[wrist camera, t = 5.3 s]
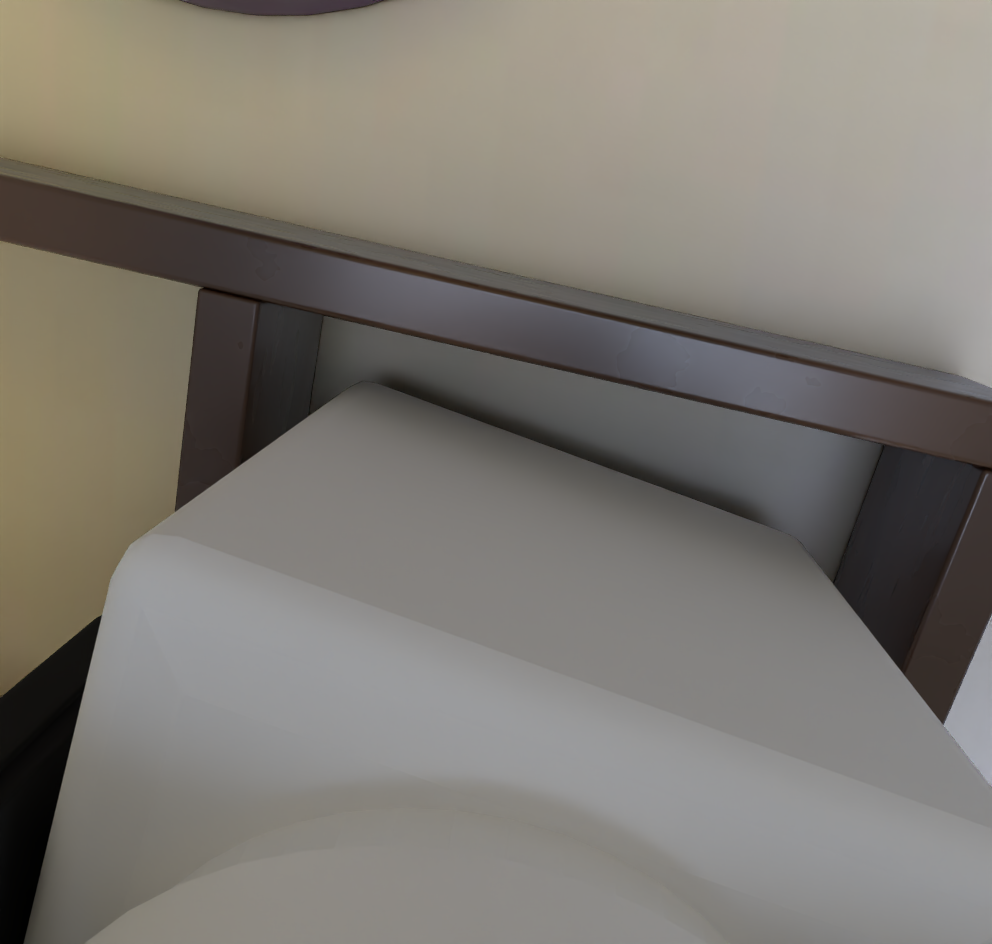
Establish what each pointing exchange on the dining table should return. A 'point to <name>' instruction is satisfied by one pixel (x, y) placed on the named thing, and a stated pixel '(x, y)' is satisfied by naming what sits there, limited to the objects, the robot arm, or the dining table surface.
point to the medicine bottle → (494, 718)
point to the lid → (281, 6)
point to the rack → (560, 345)
